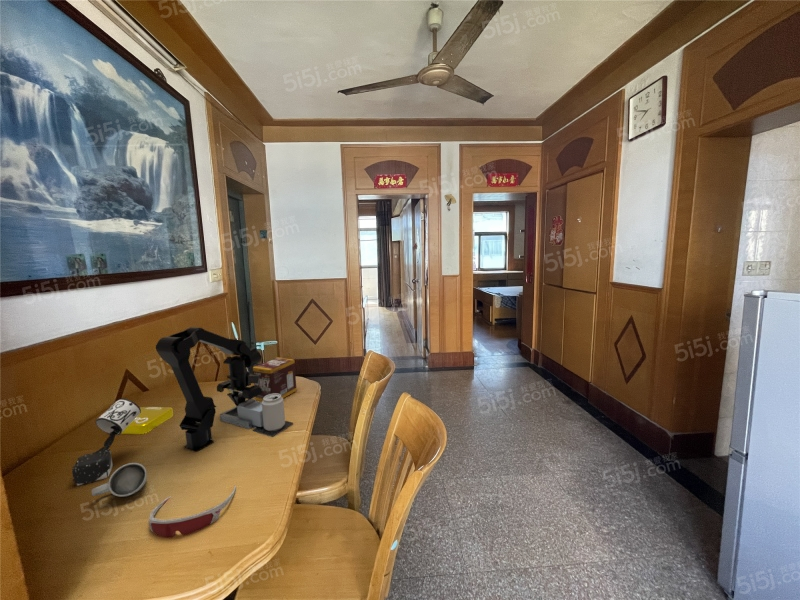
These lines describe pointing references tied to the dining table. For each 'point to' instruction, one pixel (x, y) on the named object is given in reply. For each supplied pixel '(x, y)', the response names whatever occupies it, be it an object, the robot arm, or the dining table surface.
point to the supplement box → (276, 377)
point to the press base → (249, 423)
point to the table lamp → (101, 460)
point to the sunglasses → (185, 520)
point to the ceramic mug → (124, 481)
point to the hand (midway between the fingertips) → (240, 409)
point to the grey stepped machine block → (251, 411)
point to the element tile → (148, 419)
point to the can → (273, 412)
